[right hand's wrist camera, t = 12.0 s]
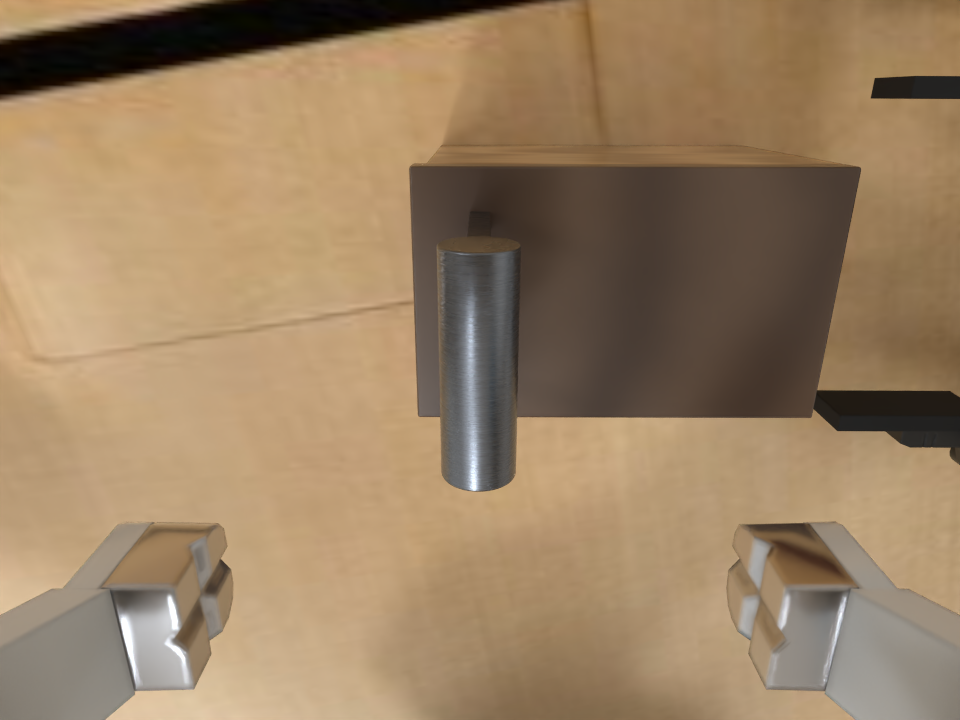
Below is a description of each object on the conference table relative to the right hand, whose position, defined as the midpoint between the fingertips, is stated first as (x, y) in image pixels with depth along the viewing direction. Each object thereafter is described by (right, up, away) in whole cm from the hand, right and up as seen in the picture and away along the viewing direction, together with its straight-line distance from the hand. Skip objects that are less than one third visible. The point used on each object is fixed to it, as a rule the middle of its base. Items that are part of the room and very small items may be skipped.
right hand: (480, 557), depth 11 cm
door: (+5, +6, +15) cm, 16 cm away
